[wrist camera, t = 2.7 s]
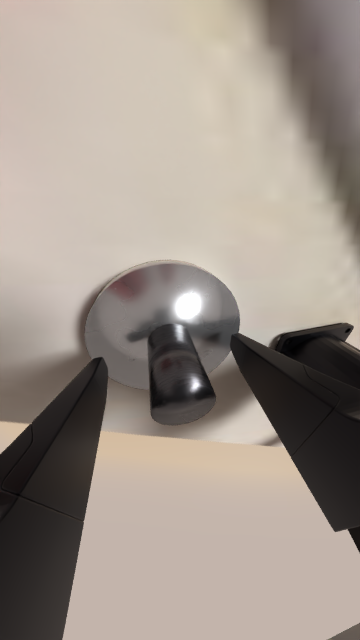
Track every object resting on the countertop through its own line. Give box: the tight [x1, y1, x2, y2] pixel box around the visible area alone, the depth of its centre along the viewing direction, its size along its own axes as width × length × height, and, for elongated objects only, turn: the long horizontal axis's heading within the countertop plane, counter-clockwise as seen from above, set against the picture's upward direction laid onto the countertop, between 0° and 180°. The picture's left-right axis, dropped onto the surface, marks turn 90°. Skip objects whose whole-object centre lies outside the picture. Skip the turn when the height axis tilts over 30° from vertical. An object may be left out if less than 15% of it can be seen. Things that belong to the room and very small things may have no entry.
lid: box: [85, 260, 240, 425], centre depth 8 cm, size 9×9×5 cm
